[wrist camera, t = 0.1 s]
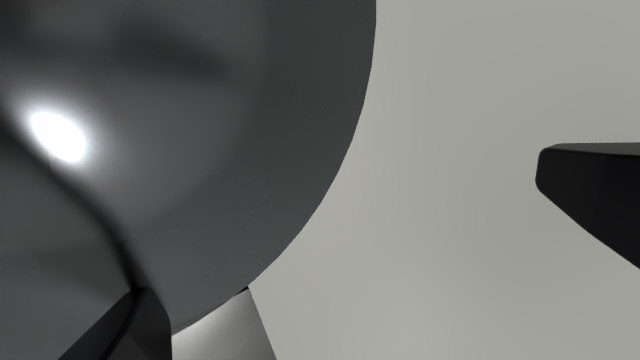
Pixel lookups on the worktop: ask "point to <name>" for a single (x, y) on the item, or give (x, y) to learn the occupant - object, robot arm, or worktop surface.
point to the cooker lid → (166, 158)
